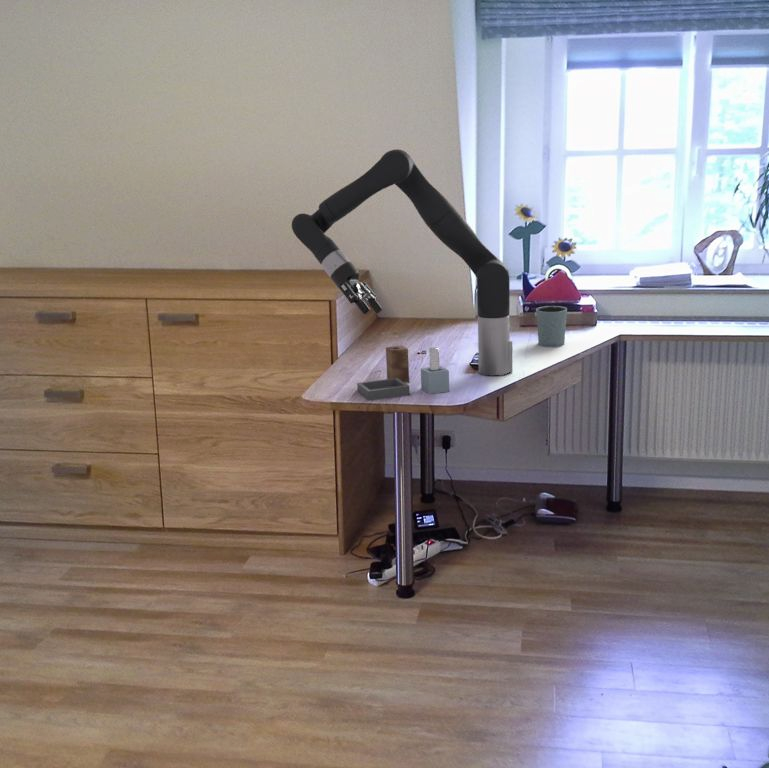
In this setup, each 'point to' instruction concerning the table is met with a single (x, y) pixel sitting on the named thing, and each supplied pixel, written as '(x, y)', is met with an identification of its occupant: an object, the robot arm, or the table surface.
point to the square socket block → (435, 380)
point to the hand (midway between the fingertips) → (374, 312)
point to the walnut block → (397, 363)
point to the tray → (383, 388)
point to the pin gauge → (434, 359)
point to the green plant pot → (551, 325)
